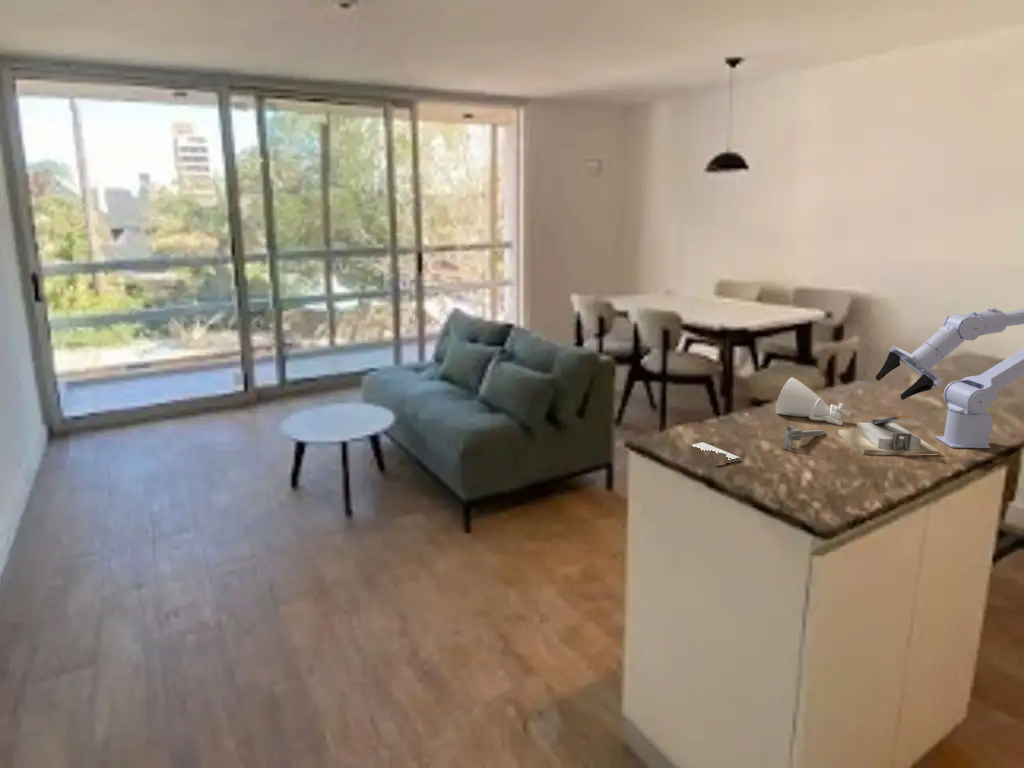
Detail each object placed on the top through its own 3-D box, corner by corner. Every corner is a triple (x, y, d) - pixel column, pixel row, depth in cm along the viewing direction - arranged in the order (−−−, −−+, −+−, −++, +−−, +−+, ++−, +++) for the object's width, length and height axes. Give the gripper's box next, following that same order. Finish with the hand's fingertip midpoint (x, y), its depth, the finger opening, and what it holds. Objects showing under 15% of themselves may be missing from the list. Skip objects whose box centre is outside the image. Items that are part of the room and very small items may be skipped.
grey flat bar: (884, 424, 183) (884, 422, 183) (909, 418, 171) (908, 416, 171) (873, 424, 183) (873, 422, 183) (896, 418, 171) (896, 415, 171)
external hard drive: (703, 447, 180) (740, 462, 169) (679, 453, 176) (715, 469, 165) (703, 441, 179) (740, 456, 169) (679, 447, 175) (716, 462, 165)
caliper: (786, 451, 175) (788, 428, 174) (782, 450, 176) (784, 427, 175) (825, 434, 188) (828, 412, 186) (821, 433, 189) (824, 411, 187)
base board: (907, 434, 186) (910, 414, 185) (938, 455, 171) (942, 434, 169) (838, 433, 188) (840, 413, 186) (863, 454, 172) (866, 433, 171)
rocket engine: (857, 392, 192) (794, 369, 202) (838, 424, 188) (775, 399, 198) (853, 414, 201) (793, 391, 211) (836, 445, 197) (775, 420, 207)
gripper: (907, 327, 174) (864, 363, 175) (958, 362, 165) (912, 400, 166) (909, 340, 179) (867, 375, 181) (958, 374, 170) (913, 411, 172)
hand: (889, 388), depth 174 cm, fingers open, 7 cm apart
